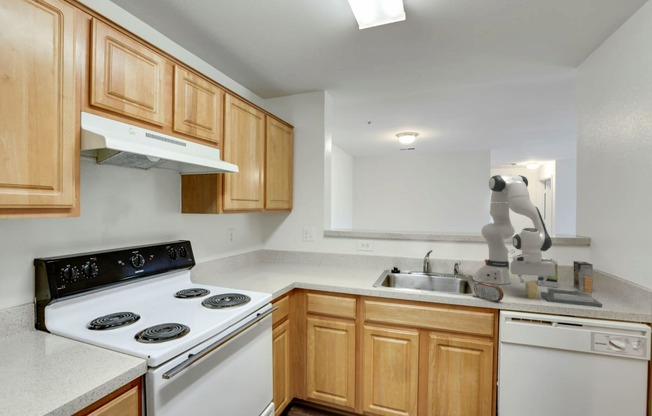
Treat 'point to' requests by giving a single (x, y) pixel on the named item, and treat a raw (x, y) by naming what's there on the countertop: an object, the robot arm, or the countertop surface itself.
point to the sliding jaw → (586, 290)
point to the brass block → (531, 290)
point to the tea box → (550, 278)
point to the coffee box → (582, 273)
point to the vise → (571, 299)
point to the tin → (488, 291)
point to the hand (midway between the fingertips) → (532, 283)
